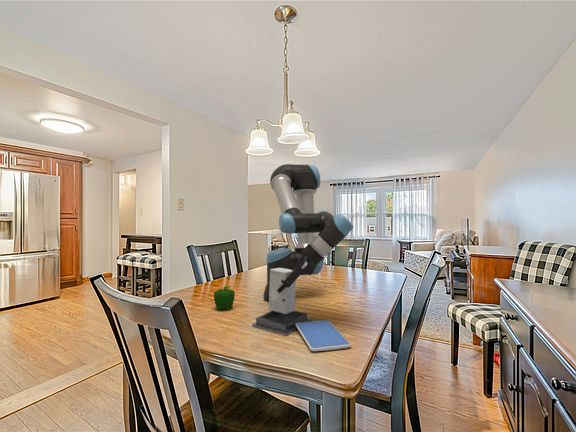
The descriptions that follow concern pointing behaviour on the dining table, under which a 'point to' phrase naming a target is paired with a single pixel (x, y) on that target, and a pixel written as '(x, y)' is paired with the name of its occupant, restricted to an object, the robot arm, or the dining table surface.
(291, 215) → the robot arm
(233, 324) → the dining table surface
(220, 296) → the bell pepper
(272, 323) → the square metal tray
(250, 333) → the dining table surface
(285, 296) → the skincare box
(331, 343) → the tablet computer
